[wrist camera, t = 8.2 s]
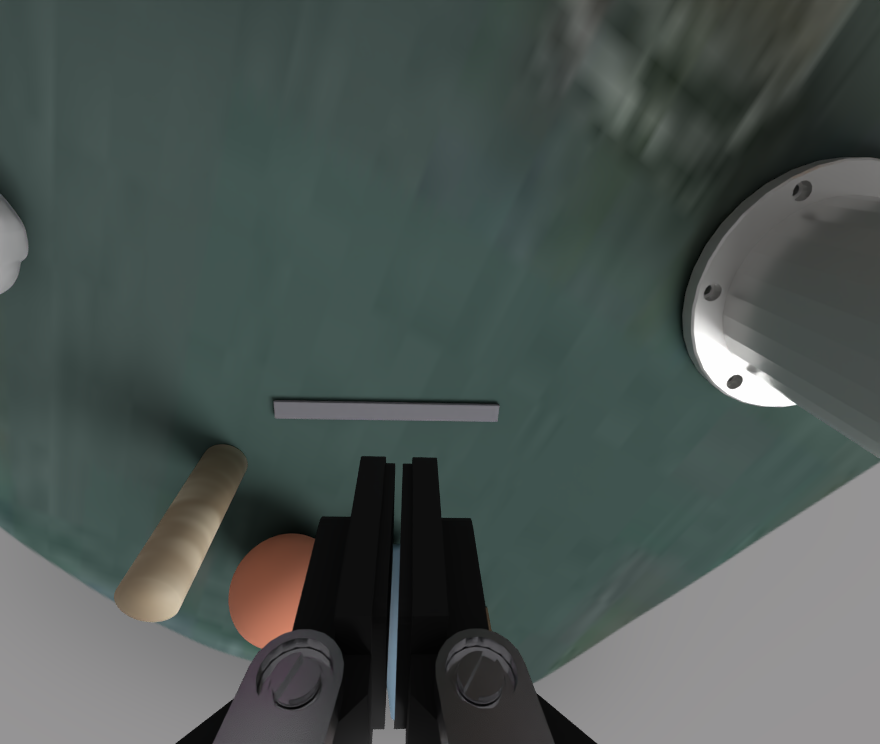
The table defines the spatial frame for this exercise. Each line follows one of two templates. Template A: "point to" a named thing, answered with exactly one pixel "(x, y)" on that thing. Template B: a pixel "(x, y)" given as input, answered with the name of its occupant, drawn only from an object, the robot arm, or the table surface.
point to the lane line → (385, 411)
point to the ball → (269, 587)
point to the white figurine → (11, 245)
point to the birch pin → (182, 538)
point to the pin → (393, 630)
